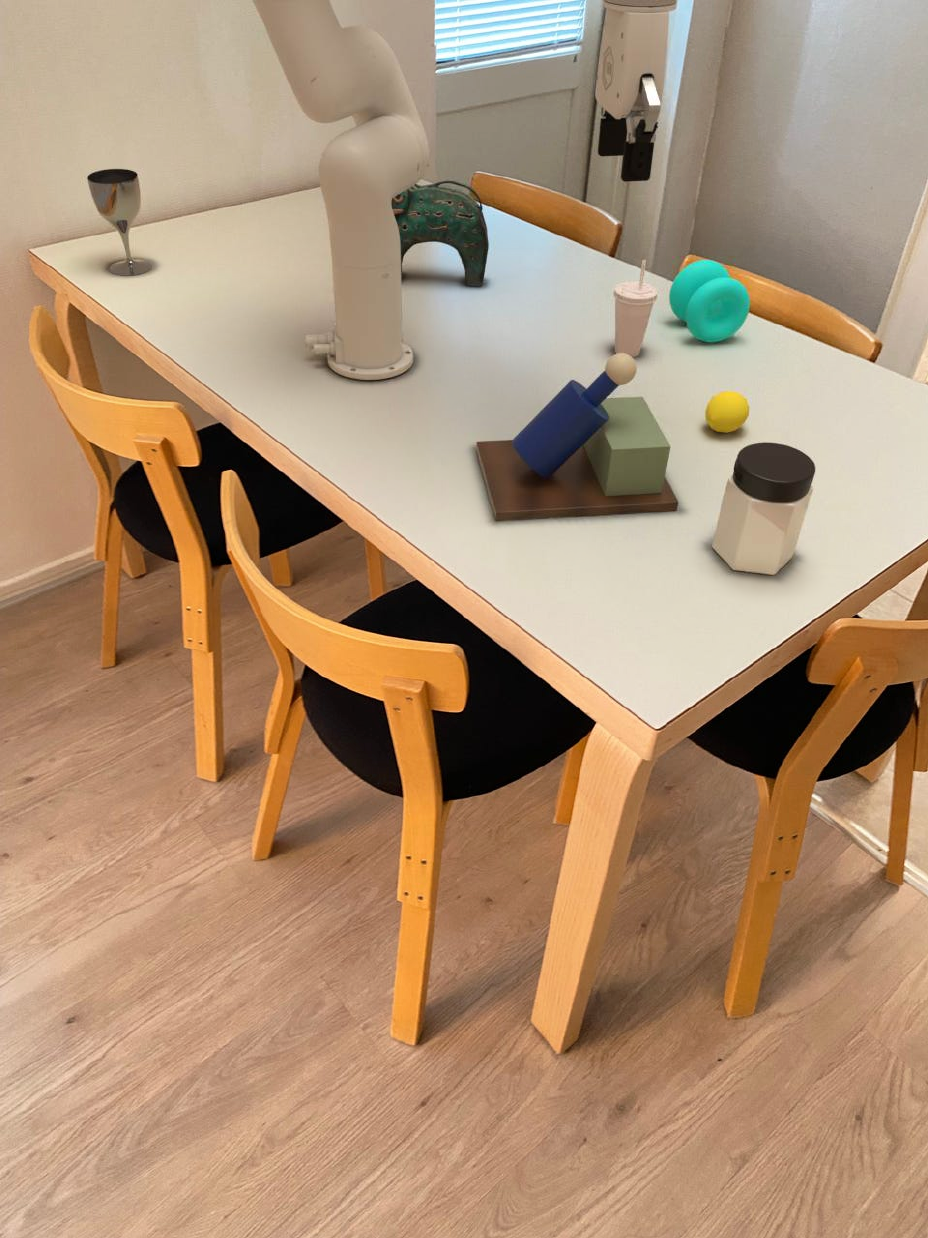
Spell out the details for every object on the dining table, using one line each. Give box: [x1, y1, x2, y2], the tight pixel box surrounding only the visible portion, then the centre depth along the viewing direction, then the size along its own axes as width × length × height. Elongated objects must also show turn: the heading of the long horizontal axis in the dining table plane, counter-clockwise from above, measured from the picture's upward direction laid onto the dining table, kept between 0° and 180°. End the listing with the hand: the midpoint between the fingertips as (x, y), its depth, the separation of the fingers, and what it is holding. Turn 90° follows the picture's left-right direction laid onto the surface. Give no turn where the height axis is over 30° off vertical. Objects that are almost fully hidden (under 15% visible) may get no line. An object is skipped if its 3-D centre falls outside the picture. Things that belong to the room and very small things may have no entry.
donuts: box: [668, 259, 751, 343], centre depth 151 cm, size 10×10×10 cm
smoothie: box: [612, 259, 658, 358], centre depth 143 cm, size 6×6×14 cm
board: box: [475, 439, 679, 522], centre depth 120 cm, size 22×16×1 cm
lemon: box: [704, 390, 750, 434], centre depth 129 cm, size 7×5×5 cm
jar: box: [711, 441, 816, 576], centre depth 106 cm, size 9×8×12 cm
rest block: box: [583, 396, 671, 496], centre depth 119 cm, size 7×12×6 cm, turn 8°
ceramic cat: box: [391, 164, 490, 288], centre depth 161 cm, size 20×6×20 cm, turn 83°
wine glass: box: [86, 168, 153, 277], centre depth 163 cm, size 8×8×15 cm
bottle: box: [512, 353, 638, 478], centre depth 115 cm, size 14×6×15 cm, turn 98°
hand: (622, 167), depth 111 cm, fingers open, 9 cm apart
